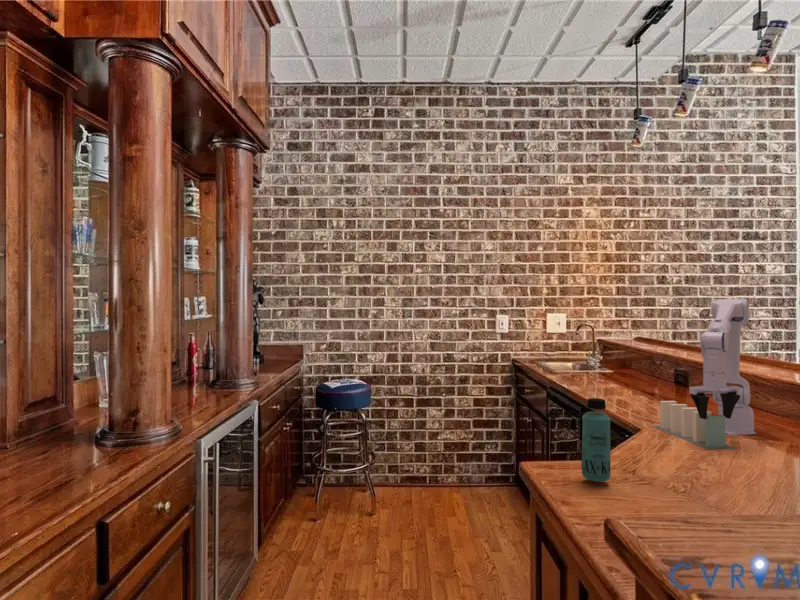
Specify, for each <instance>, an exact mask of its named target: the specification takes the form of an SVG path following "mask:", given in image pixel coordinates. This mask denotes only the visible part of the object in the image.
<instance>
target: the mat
mask: <svg viewBox="0 0 800 600" xmlns="http://www.w3.org/2000/svg"><path fill="white" fill-rule="evenodd" d="M650 427H652V428H654V429H656V430H660V431H661V432H664V433H666V434H668V435H671V436H674V437H675V438H678V439H680V440H683V441H686V442H688V443H690V444H693V445H695V446H697V447H700V448H703V449H705V450H707V451H715V450H716V451H718V450H720V451H721V450H737V448H736V447H733V446H731V445H728V444H726V443H725V447H707V446H706V442H695V441H693V437H682V436H681V433H673V432H670V428H669V429H663V428H660V425H650Z"/></svg>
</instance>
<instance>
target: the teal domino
mask: <svg viewBox="0 0 800 600" xmlns="http://www.w3.org/2000/svg"><path fill="white" fill-rule="evenodd" d="M705 437H706V446H707V447H725V444H726V433H725V416H722V415H719V414H714V415H707V418H706V419H705Z"/></svg>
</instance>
